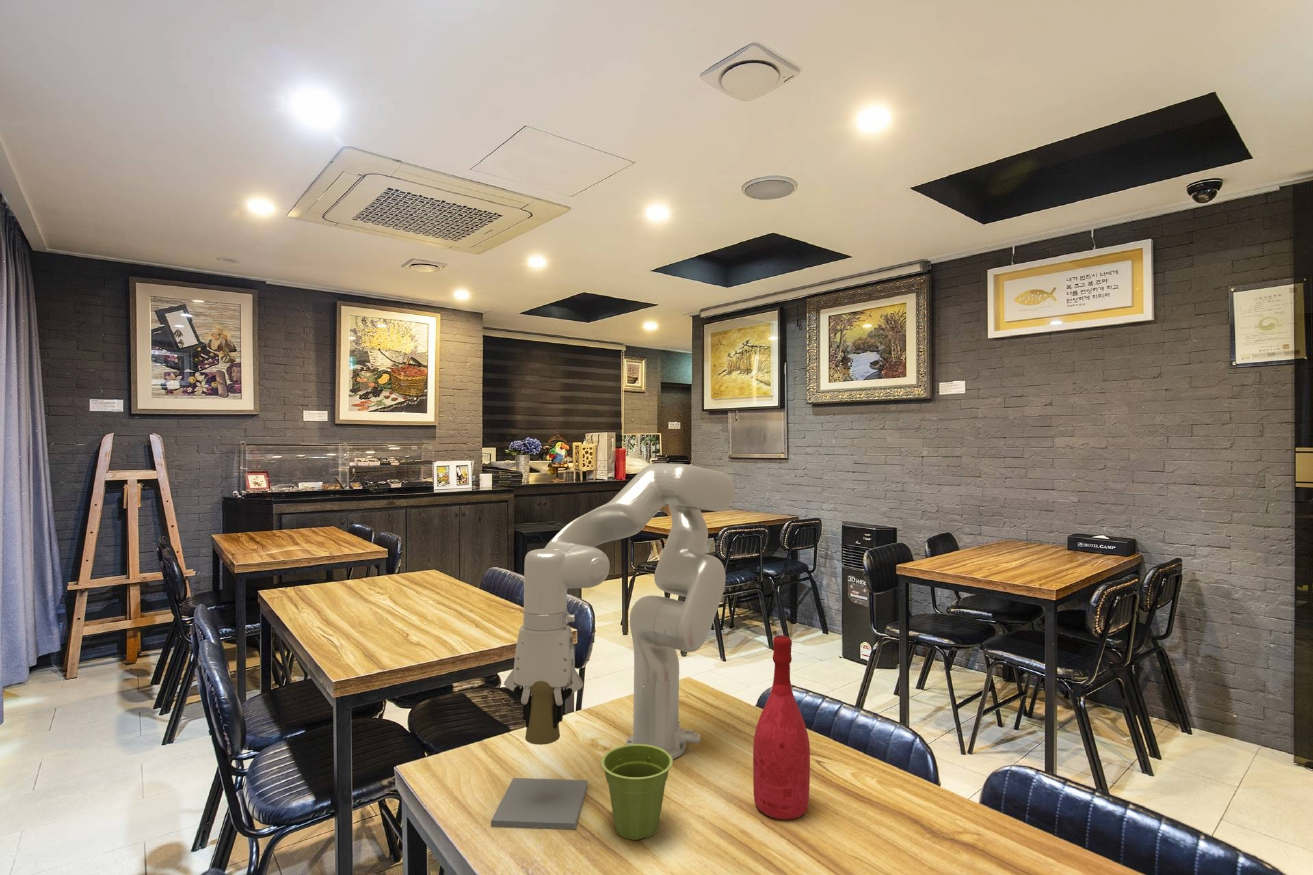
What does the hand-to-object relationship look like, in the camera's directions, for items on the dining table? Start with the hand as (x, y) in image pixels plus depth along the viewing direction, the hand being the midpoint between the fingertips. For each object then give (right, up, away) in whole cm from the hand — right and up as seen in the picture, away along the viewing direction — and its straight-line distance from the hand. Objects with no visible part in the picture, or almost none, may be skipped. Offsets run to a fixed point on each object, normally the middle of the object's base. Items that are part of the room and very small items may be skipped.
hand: (542, 723), depth 114 cm
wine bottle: (+42, -15, 0) cm, 45 cm away
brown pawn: (0, -2, 0) cm, 2 cm away
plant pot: (+17, -14, -7) cm, 23 cm away
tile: (0, -14, 0) cm, 14 cm away
